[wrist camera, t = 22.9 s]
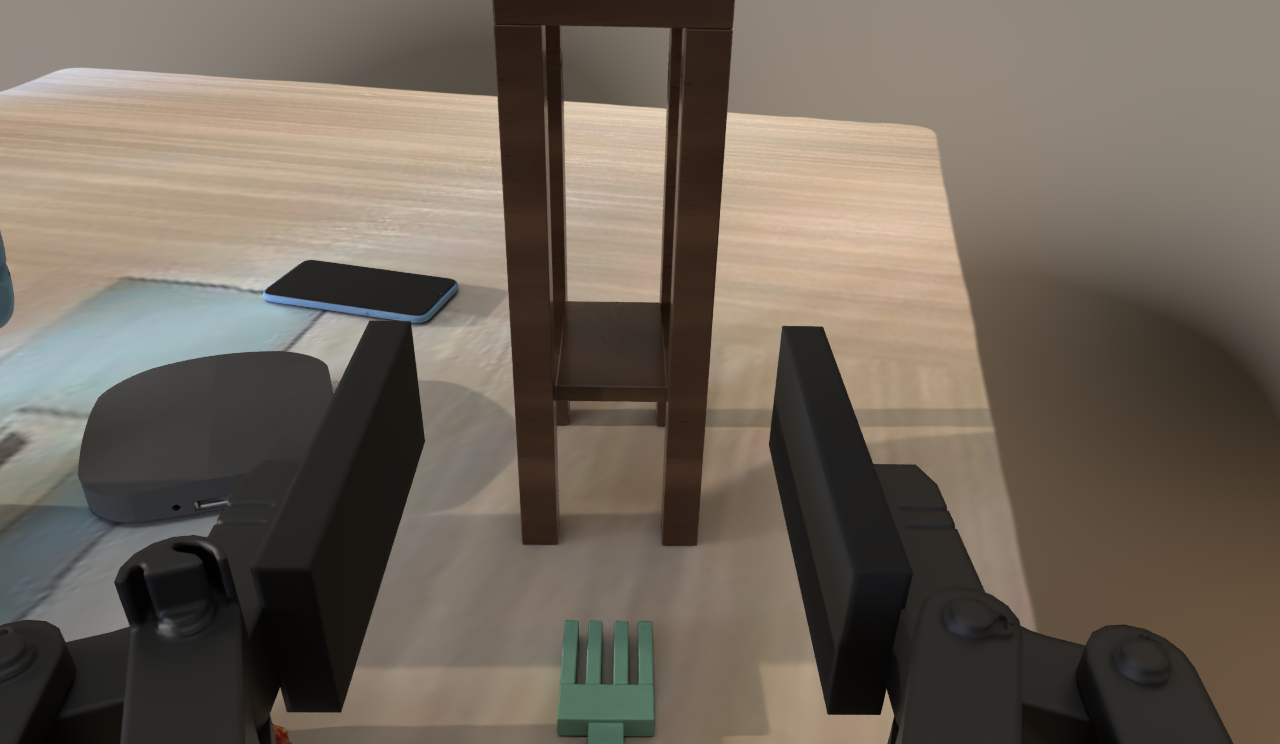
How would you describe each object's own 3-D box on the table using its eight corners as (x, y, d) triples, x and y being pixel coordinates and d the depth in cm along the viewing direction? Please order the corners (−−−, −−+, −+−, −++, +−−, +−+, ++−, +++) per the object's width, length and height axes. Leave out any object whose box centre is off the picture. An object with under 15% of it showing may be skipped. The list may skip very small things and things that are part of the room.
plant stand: (697, 545, 55) (735, -9, 39) (522, 544, 54) (491, -14, 39) (684, 410, 67) (710, -56, 51) (541, 408, 66) (523, -60, 51)
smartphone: (305, 257, 85) (462, 278, 81) (306, 266, 85) (462, 287, 82) (256, 292, 78) (423, 317, 75) (258, 302, 79) (425, 326, 76)
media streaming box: (111, 403, 66) (100, 366, 64) (332, 372, 70) (325, 337, 68) (78, 540, 54) (63, 498, 52) (345, 492, 58) (338, 453, 57)
